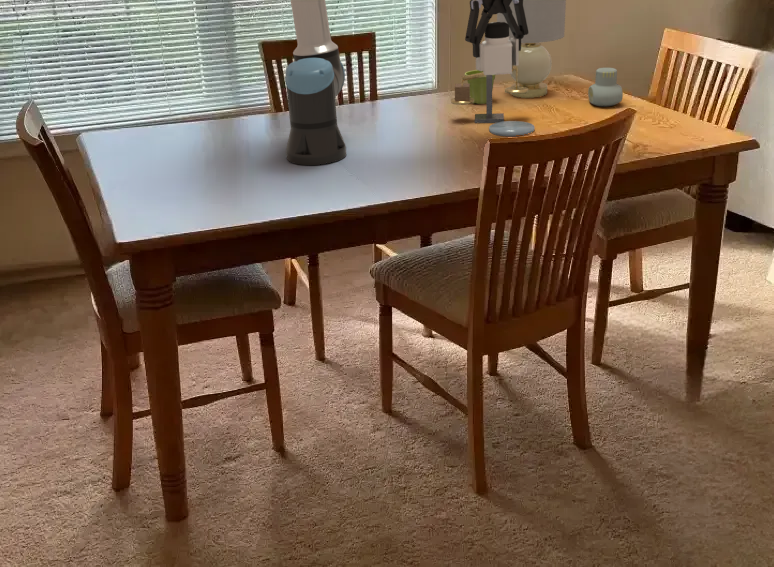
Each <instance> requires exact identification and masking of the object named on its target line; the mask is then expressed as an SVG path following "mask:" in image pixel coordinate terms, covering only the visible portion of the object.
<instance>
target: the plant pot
mask: <svg viewBox="0 0 774 567" xmlns="http://www.w3.org/2000/svg"><path fill="white" fill-rule="evenodd" d="M482 72H483V71H479V70H476V69H474V70H469V71H466V72H465V73H464V76H467V75H472V74H477V73H482ZM495 78H496V75H492V91H493V90H494V89H493V88H494V82H495V80H496V79H495ZM466 81H467V83H470V97H471V98H473V99H474V102H473V103H472V104H477V105H486V76H485V77H480V78H475V79H470V80H466Z"/></svg>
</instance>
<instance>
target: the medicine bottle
mask: <svg viewBox="0 0 774 567" xmlns="http://www.w3.org/2000/svg"><path fill="white" fill-rule="evenodd" d="M481 44H483V58H484V71H483V73H484V75H495V76H496V75H510V74H512V72H513V46H512V43H511V41H510V40H509V24H507V23H505V22H497V21H492V22H489V23H488V25H487V28H486V30H485V33H484V41H483V40H482V42H481Z"/></svg>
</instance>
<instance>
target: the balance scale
mask: <svg viewBox="0 0 774 567" xmlns="http://www.w3.org/2000/svg"><path fill="white" fill-rule="evenodd" d="M514 70H516V81H515V83H516V86H513V87H511V86H508V87H505V88H504V93H506V94H511V95H512V94H523V93H527V92H528V88H527V87H522V86H517V74H518V68H517V66H513V71H514ZM485 76H486V104H485V105H486V112H485V113H474V124H495V123H498V122H504V121H505V116H504V112H503V113H493V90H492V75H484V73H483V72H482V73H477V74H472V75H467V76H465V75H463V76H461V79H460V80H461V83H455V85H454V97H453V98H451V99H450V104H453V105H457V106H458V105H459V106H461V105H462V106H463V105H470V104H474V103H473V102H474V99H473V98H471V97H470V83H468V82H467V83H464V82H465V81H467V80H470V79H475V78H480V77H485Z"/></svg>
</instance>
